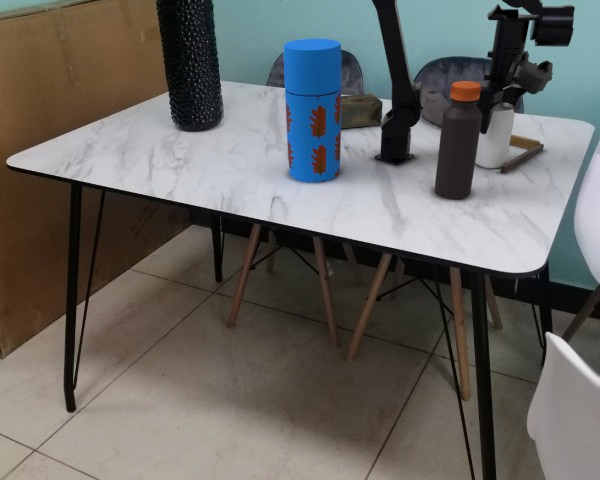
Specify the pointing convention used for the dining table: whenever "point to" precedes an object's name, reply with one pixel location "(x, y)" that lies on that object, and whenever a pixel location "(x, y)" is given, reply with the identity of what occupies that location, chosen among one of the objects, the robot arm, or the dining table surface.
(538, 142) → the brown wooden bent bar
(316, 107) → the thermos
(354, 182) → the dining table surface
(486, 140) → the can
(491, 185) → the dining table surface
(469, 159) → the bottle
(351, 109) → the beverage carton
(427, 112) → the perforated stone tool
